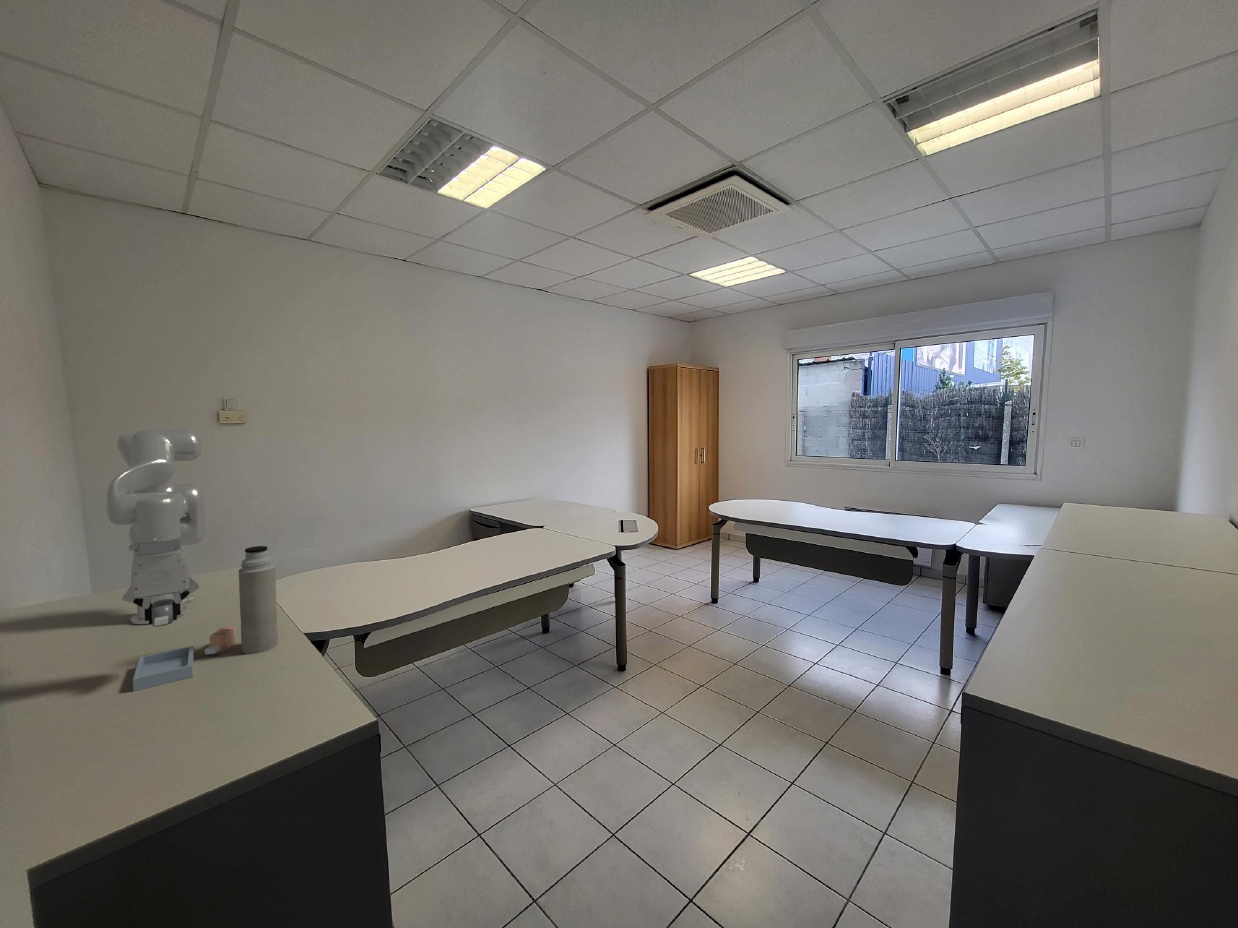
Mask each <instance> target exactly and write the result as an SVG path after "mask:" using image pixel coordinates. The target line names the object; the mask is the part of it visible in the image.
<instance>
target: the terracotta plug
mask: <svg viewBox="0 0 1238 928" xmlns="http://www.w3.org/2000/svg"><path fill="white" fill-rule="evenodd" d="M235 644H236V627H235V626H225V627H222V628H219V629H218V630H216V631H215V632H213V633H212V634H211V635H209V646H208V647H207V648H205V649H204V655H217V654H221V653H224V652H226V651H228V650H229V649H230V648H231V647H233V645H235Z"/></svg>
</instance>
